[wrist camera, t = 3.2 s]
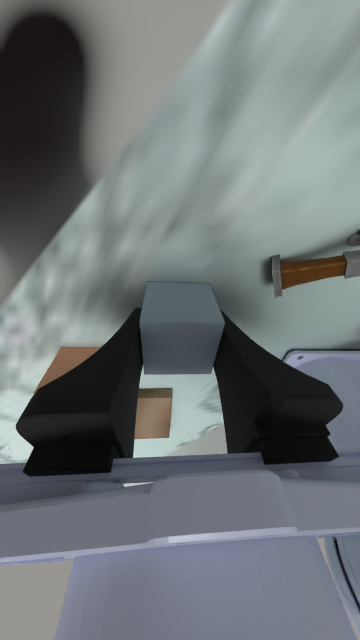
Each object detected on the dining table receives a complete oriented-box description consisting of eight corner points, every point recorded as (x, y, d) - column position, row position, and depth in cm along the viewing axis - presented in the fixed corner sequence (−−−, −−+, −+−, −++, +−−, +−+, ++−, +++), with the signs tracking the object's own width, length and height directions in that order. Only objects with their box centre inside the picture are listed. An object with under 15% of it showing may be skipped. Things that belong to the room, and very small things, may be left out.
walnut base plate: (171, 388, 19) (172, 397, 18) (169, 429, 25) (169, 437, 25) (70, 390, 18) (66, 399, 18) (92, 432, 25) (90, 440, 24)
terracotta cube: (113, 346, 15) (99, 392, 12) (119, 376, 18) (109, 420, 15) (61, 346, 15) (33, 393, 12) (75, 376, 17) (55, 421, 14)
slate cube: (209, 283, 12) (225, 322, 9) (201, 330, 14) (210, 373, 11) (146, 281, 12) (139, 321, 9) (149, 329, 14) (144, 374, 11)
